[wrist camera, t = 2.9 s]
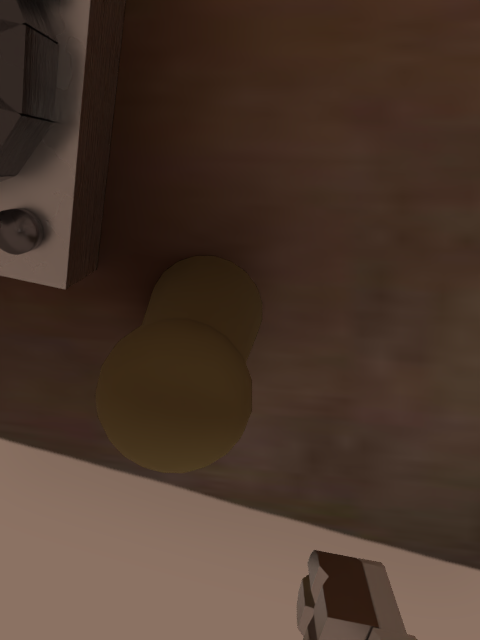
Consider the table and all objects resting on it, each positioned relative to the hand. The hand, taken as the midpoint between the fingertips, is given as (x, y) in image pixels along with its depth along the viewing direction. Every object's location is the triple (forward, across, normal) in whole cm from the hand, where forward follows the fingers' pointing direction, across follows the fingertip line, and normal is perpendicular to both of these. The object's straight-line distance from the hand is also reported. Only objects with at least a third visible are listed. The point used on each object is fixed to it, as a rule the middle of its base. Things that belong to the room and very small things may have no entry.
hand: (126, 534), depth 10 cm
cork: (+15, 0, 0) cm, 15 cm away
